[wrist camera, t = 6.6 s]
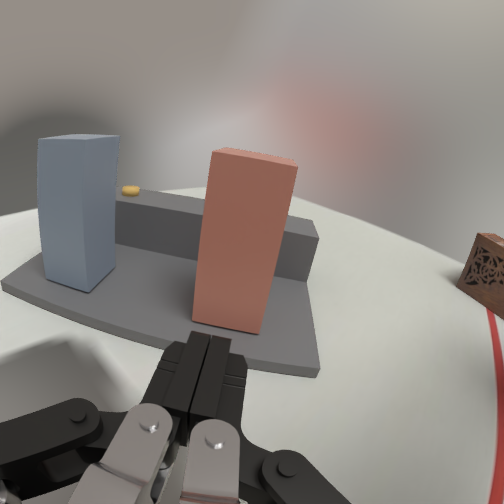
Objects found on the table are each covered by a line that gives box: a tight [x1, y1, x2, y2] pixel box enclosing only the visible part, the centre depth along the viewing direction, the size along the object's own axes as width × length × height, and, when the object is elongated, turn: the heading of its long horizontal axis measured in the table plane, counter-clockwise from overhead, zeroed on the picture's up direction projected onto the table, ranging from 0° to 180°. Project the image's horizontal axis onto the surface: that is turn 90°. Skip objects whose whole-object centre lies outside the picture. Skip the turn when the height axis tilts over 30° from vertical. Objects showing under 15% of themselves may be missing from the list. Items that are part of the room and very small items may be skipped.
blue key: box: [37, 134, 120, 293], centre depth 21 cm, size 5×5×12 cm
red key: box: [192, 148, 298, 334], centre depth 21 cm, size 5×5×12 cm
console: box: [1, 186, 320, 378], centre depth 26 cm, size 28×19×7 cm
